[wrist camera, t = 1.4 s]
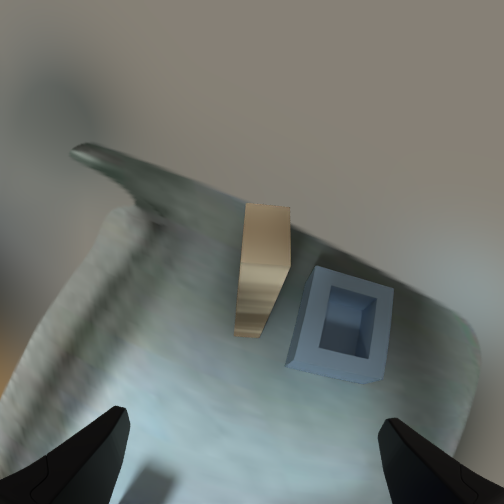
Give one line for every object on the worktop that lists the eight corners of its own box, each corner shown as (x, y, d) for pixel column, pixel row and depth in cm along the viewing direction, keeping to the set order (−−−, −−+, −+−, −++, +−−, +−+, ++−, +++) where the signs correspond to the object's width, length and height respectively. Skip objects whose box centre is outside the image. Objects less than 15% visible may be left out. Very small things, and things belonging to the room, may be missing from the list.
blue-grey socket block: (363, 384, 22) (383, 379, 19) (284, 366, 22) (293, 359, 19) (376, 303, 26) (393, 288, 22) (305, 283, 26) (315, 265, 23)
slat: (258, 338, 23) (290, 266, 12) (234, 336, 23) (241, 262, 12) (260, 303, 25) (289, 207, 14) (236, 301, 25) (246, 202, 13)
